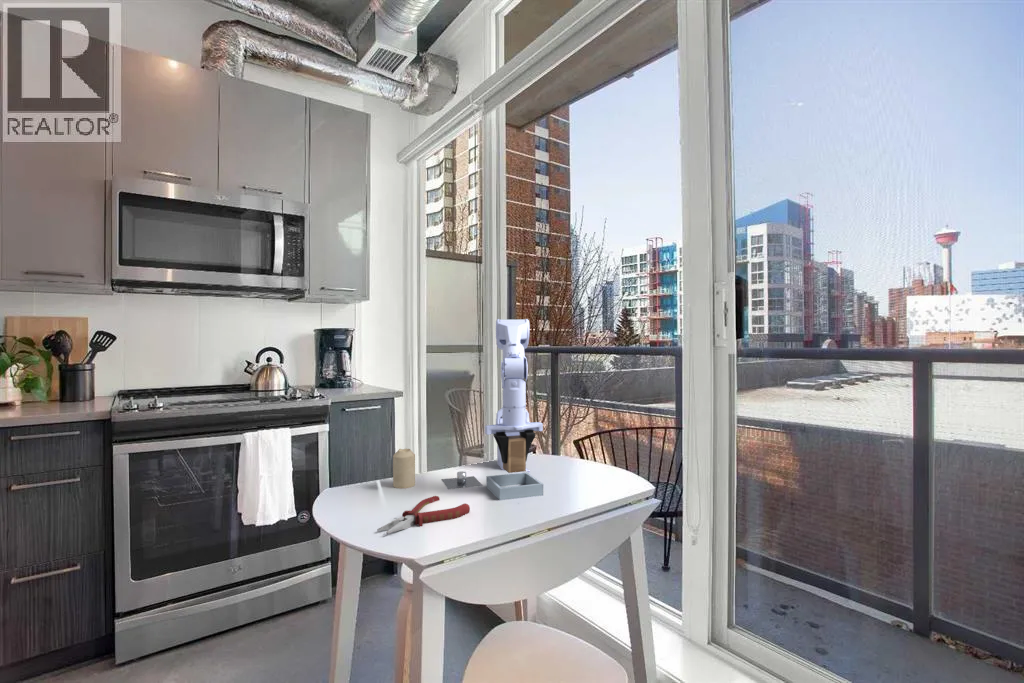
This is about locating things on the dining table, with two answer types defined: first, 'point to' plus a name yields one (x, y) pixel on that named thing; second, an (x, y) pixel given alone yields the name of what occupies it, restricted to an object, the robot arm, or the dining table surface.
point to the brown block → (516, 454)
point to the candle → (404, 469)
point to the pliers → (424, 516)
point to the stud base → (455, 485)
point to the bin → (514, 492)
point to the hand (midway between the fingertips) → (514, 461)
